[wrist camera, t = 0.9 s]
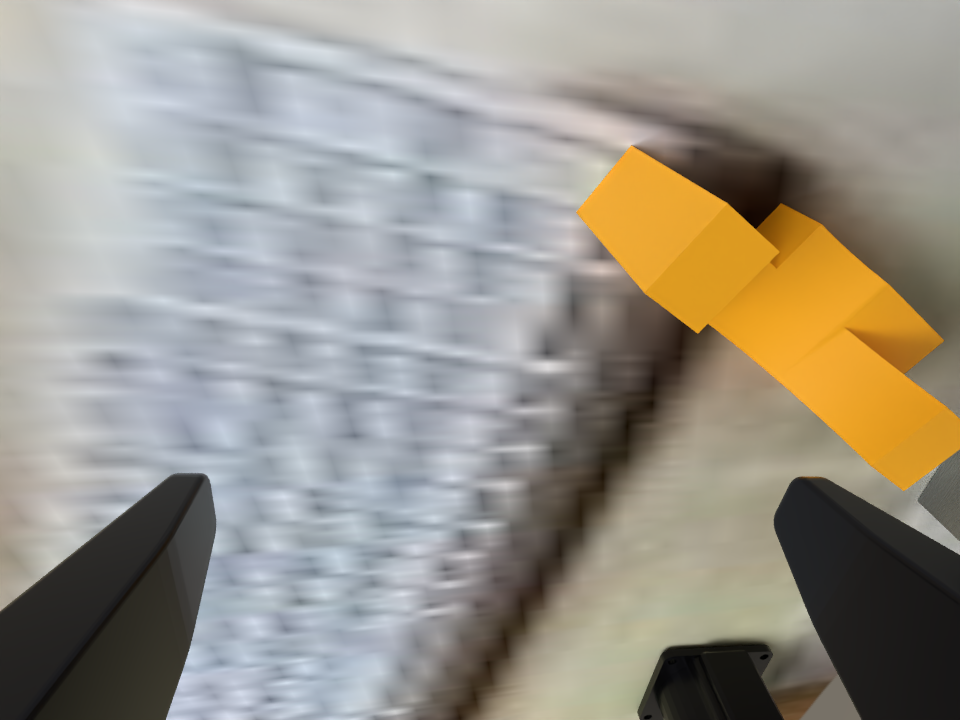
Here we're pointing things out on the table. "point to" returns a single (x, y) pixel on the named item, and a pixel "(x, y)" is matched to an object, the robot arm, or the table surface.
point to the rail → (945, 495)
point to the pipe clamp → (782, 308)
